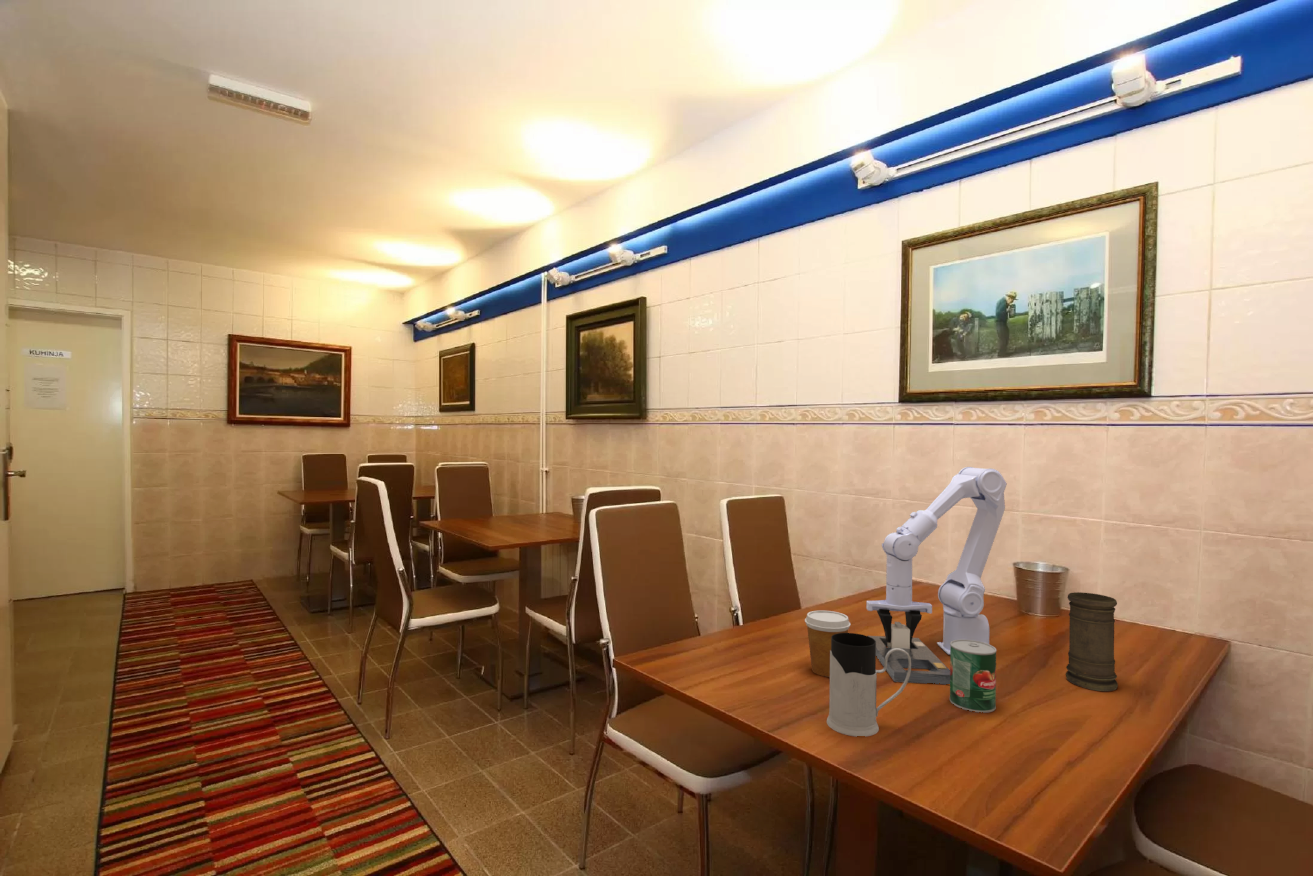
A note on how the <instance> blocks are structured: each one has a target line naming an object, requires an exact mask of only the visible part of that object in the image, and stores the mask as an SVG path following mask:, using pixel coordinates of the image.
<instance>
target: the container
mask: <svg viewBox="0 0 1313 876" xmlns="http://www.w3.org/2000/svg"><path fill="white" fill-rule="evenodd" d="M1067 599H1068V601H1069V602H1068V605H1069V613H1068V616H1069V628H1068V629H1069V638H1068V639H1069V643H1068V645H1069V646H1068V647H1069V648H1068V653H1067V655H1068V664H1067V665H1066V667H1065V668H1066V670H1067V671H1066V672H1065V677H1066V680H1067V681H1068V683H1069V682H1070V684H1071V683H1072V684H1073V685H1074V686H1077V687H1080V688H1083V689H1087V690H1091V691H1097V692H1113V691H1115V690H1117V689H1118V686H1119V684H1118V681H1117V678H1118V676H1117V674H1116V672H1115V664H1116V660H1115V622H1116V620H1115V611H1116V608H1115V607H1116V606H1117V605H1118V601H1117V599H1115V598H1114V597H1112V596H1108V595H1103V594H1099V593H1092V592H1082V591H1080V592H1079V591H1077V592H1075V591H1073V592H1070V593H1068V595H1067Z"/></svg>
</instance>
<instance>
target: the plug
mask: <svg viewBox="0 0 1313 876" xmlns="http://www.w3.org/2000/svg"><path fill="white" fill-rule="evenodd" d="M887 648H904V649H910V629H909V628H908V627H907V626H906V624H903V623H901V621H894V623H891V643H888V642H887Z"/></svg>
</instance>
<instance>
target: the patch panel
mask: <svg viewBox="0 0 1313 876" xmlns="http://www.w3.org/2000/svg"><path fill="white" fill-rule="evenodd" d="M868 636H869V637H871V638H873V639H874V640H875V641H876V656H877V657H876V659H877V660H878V659H879V660H878V661H879V663H880V664H881V665H882V667H883V668H884V660H885V656H886V654H887V653H888V651H890V650H891V649H894V648H887V647H886V646H887V641H886V637H885V635H884V636H881V635H868ZM900 649H903V650H905V651H906V652H907V653H908V654H909V656H910V658H911V673H910V677H909V680H908V682H907V684H908V683H912V684H927V683H933V685H946V684H950V668H948V667H947V666H946V665H945V664H944V663H943V661H942V660H940V659H939V657H937V655H936V654H935V653H934V652H933V651H932V650H931V649H930V648H929V647H928V646H927V645H926V644H925V643H924V642H923V641H922V640H921V639H920V638H919V637H913V638H912V642H911V644H910V649H904V648H900ZM908 666H909V661H908V657H907V655H906V654H905V653H904V652H902V651H894V652H892V653H891V654H890V655H889V657H888V660H887V668H886V672H887V674H888V675H889V677H890V678H891V679H892V681H893V682H895V683H904V681H905V679H906V676H907V673H908ZM912 669H918V670H912ZM934 683H935V684H934ZM939 683H940V684H939Z"/></svg>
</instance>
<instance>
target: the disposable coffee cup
mask: <svg viewBox="0 0 1313 876" xmlns="http://www.w3.org/2000/svg"><path fill="white" fill-rule="evenodd" d="M804 622H805V625H806V627H807V636H808V637H807V638H808V645H809V655H810V664H811V672H813V673H814V674H815V675H818V676H820V677H821V676H822V677H828V678H830V651H831V637H832V635H834V634H838V633H849V629H850V626H851V622H850V619H849V616H848V615H846V614H844V613H841V612H839V611H833V610H832V611H831V610H813V611H809V612H807V613H806V618H804Z"/></svg>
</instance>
